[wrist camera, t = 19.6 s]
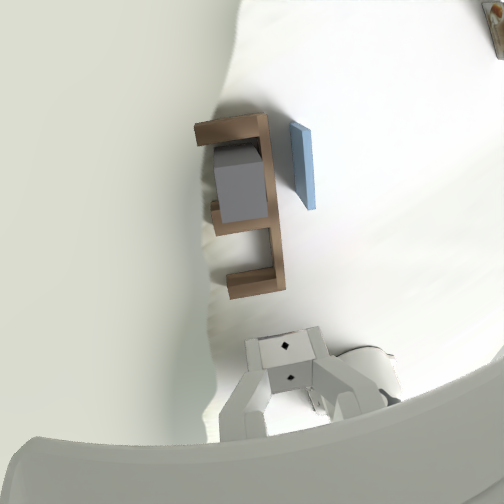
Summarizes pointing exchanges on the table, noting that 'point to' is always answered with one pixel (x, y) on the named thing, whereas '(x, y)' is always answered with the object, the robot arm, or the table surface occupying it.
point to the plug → (240, 182)
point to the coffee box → (496, 25)
